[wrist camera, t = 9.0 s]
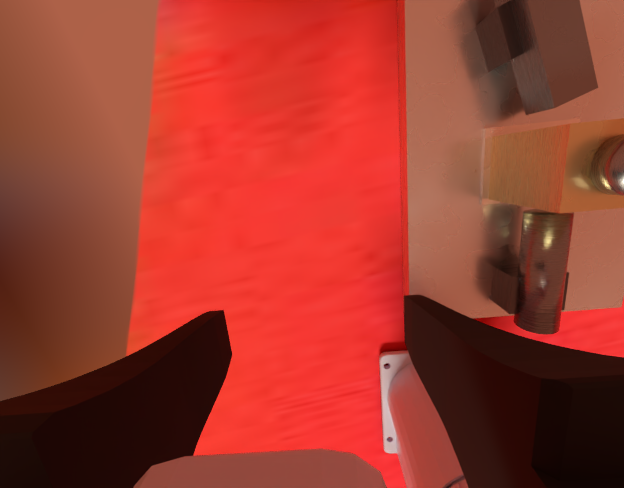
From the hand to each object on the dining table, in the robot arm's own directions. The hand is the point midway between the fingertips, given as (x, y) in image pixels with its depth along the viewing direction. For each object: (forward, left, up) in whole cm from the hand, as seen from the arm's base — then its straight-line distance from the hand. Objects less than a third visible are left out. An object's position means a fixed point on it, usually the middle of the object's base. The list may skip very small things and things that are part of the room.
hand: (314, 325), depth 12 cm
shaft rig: (+5, -13, -9) cm, 17 cm away
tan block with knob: (+5, -13, -8) cm, 16 cm away
